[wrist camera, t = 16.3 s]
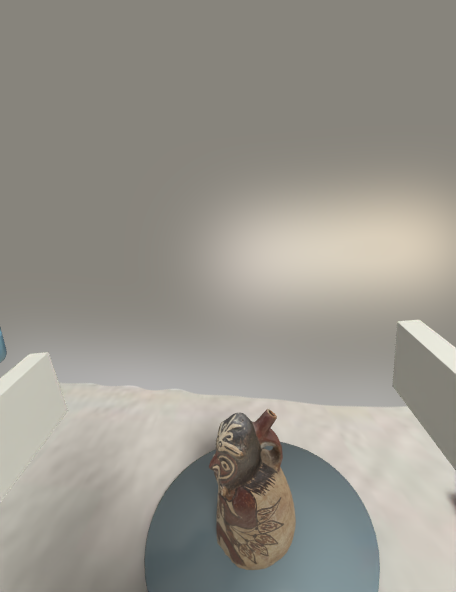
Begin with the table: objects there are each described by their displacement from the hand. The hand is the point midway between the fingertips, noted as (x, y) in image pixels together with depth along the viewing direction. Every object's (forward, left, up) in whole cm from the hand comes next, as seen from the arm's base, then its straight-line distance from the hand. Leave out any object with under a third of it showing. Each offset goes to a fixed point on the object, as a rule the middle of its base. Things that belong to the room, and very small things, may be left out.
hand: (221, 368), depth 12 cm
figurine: (-7, +7, -23) cm, 25 cm away
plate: (-7, +7, -24) cm, 26 cm away
